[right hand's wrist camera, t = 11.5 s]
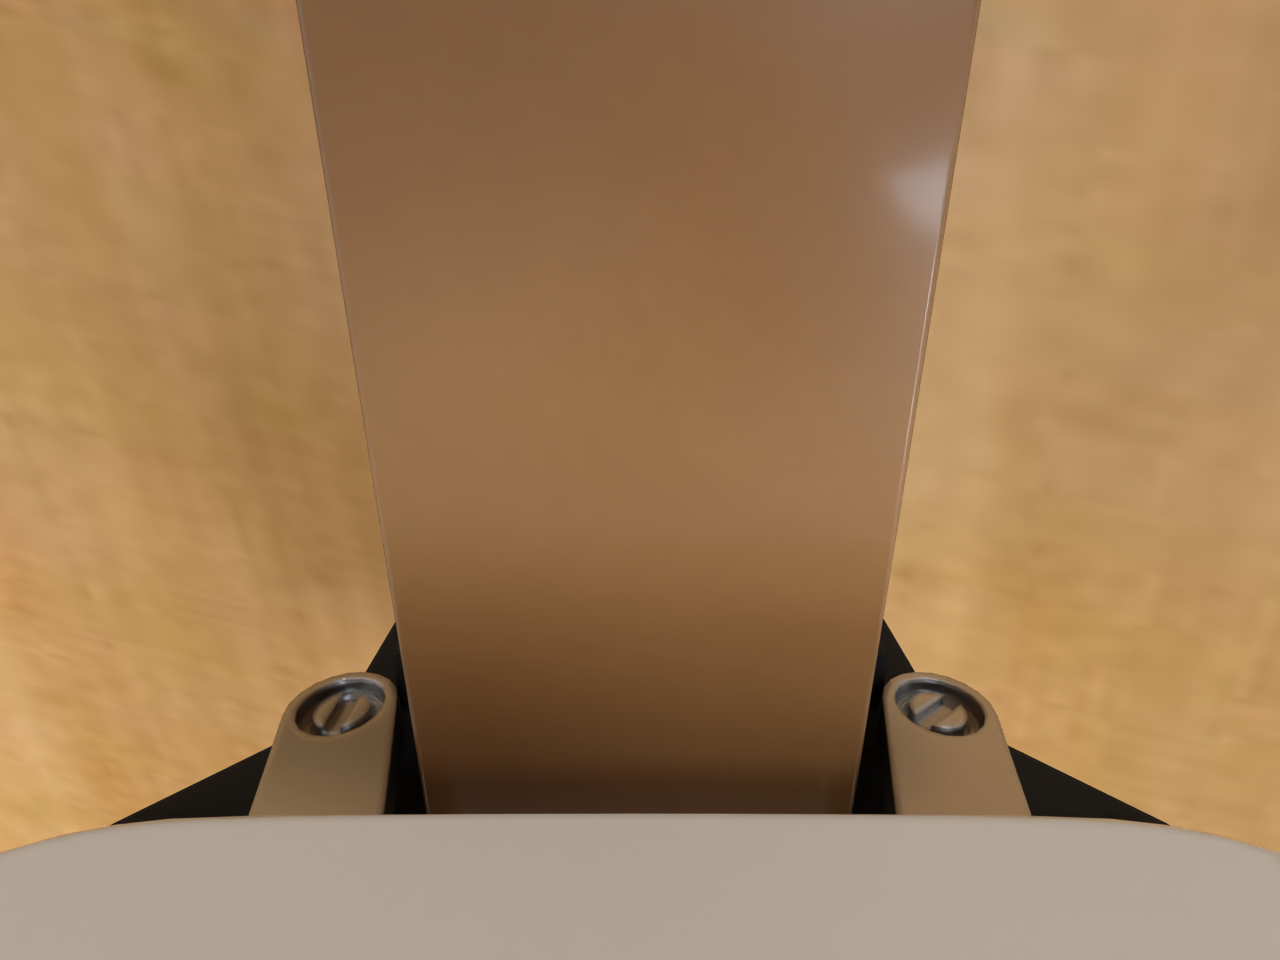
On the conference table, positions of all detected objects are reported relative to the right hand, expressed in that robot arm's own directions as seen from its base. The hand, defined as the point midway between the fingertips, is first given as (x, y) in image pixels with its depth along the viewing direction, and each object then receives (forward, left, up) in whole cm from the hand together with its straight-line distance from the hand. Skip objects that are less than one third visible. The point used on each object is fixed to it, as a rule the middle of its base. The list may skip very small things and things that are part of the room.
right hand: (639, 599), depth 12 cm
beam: (+21, -9, -3) cm, 23 cm away
